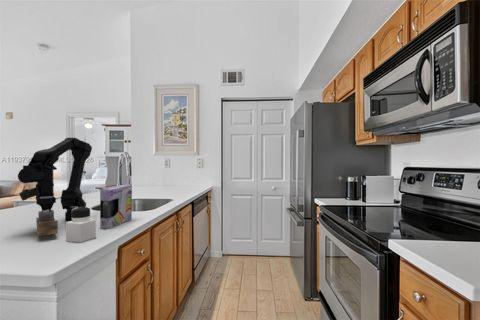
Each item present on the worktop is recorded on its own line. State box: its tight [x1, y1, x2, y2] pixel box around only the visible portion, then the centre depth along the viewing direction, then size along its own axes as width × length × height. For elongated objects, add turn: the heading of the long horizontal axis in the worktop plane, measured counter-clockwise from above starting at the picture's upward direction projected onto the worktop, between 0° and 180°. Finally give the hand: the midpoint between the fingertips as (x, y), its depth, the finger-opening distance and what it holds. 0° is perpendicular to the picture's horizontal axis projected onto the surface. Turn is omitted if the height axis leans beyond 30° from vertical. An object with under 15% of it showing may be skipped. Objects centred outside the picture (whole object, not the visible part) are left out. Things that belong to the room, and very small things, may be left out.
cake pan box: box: [99, 184, 133, 230], centre depth 127 cm, size 19×5×18 cm, turn 170°
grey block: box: [37, 209, 55, 222], centre depth 112 cm, size 5×4×6 cm
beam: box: [35, 217, 59, 237], centre depth 111 cm, size 6×23×7 cm, turn 38°
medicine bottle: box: [65, 206, 97, 244], centre depth 104 cm, size 7×7×12 cm
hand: (45, 218), depth 115 cm, fingers closed
